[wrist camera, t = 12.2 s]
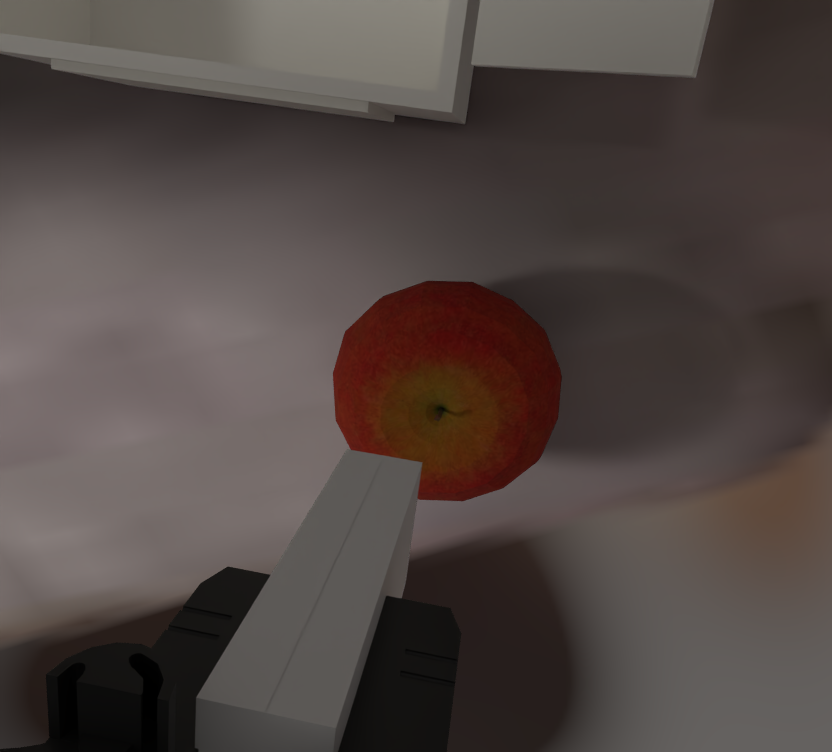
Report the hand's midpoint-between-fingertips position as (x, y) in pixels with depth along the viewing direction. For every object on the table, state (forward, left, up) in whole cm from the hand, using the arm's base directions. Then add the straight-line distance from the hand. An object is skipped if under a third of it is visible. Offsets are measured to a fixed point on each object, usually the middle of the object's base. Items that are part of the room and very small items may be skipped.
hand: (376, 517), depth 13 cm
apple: (+1, -1, -15) cm, 15 cm away
